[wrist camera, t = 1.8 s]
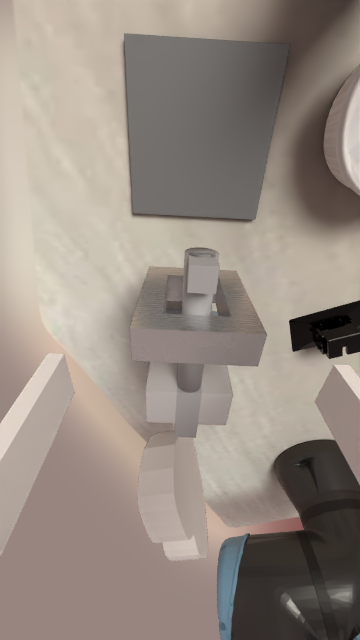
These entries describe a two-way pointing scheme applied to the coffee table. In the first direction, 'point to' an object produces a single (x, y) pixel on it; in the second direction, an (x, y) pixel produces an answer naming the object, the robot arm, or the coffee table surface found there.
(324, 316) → the black phone stand
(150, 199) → the mat
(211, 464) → the coffee table surface
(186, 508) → the heart sculpture
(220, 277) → the ring
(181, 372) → the vise
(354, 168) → the ramekin
